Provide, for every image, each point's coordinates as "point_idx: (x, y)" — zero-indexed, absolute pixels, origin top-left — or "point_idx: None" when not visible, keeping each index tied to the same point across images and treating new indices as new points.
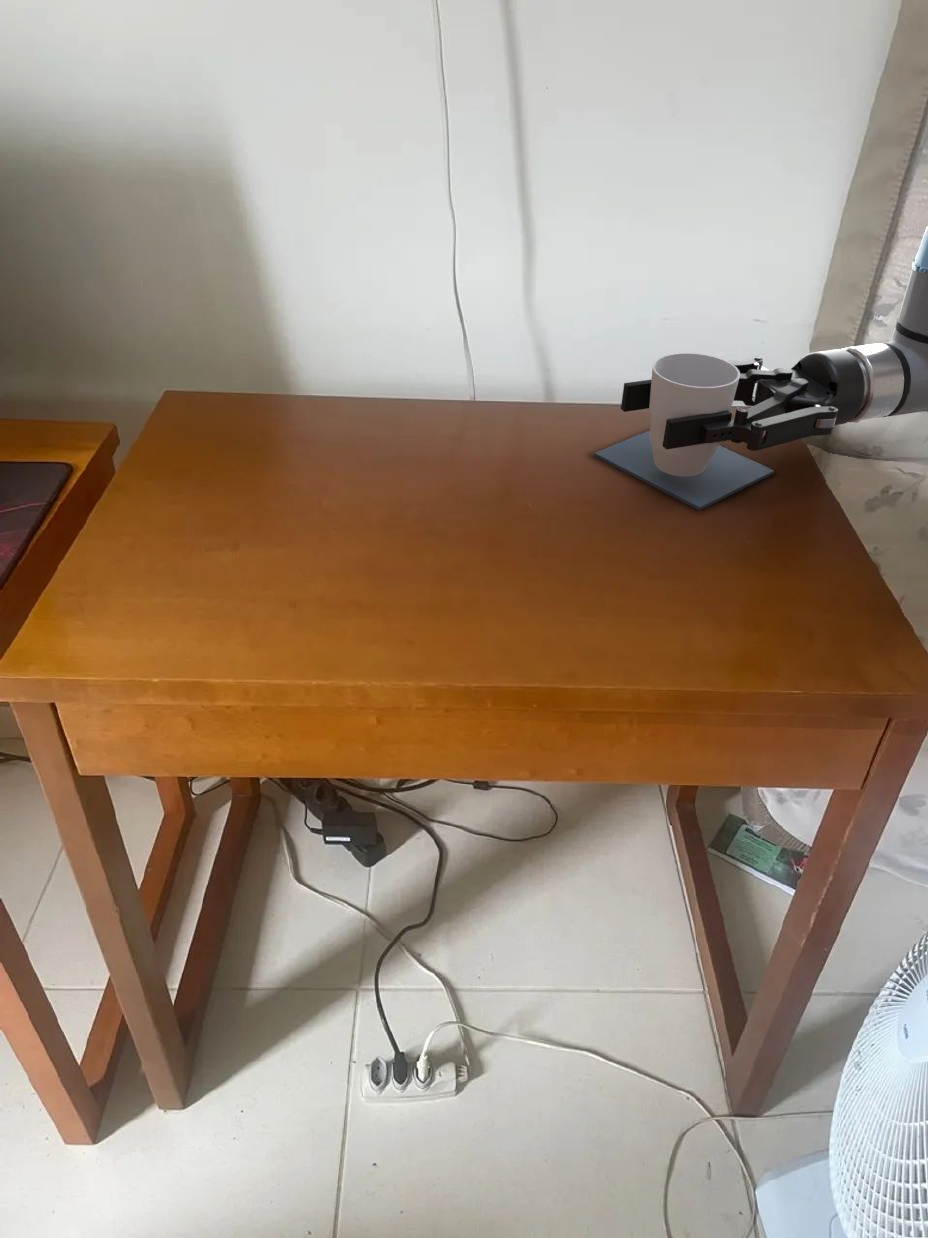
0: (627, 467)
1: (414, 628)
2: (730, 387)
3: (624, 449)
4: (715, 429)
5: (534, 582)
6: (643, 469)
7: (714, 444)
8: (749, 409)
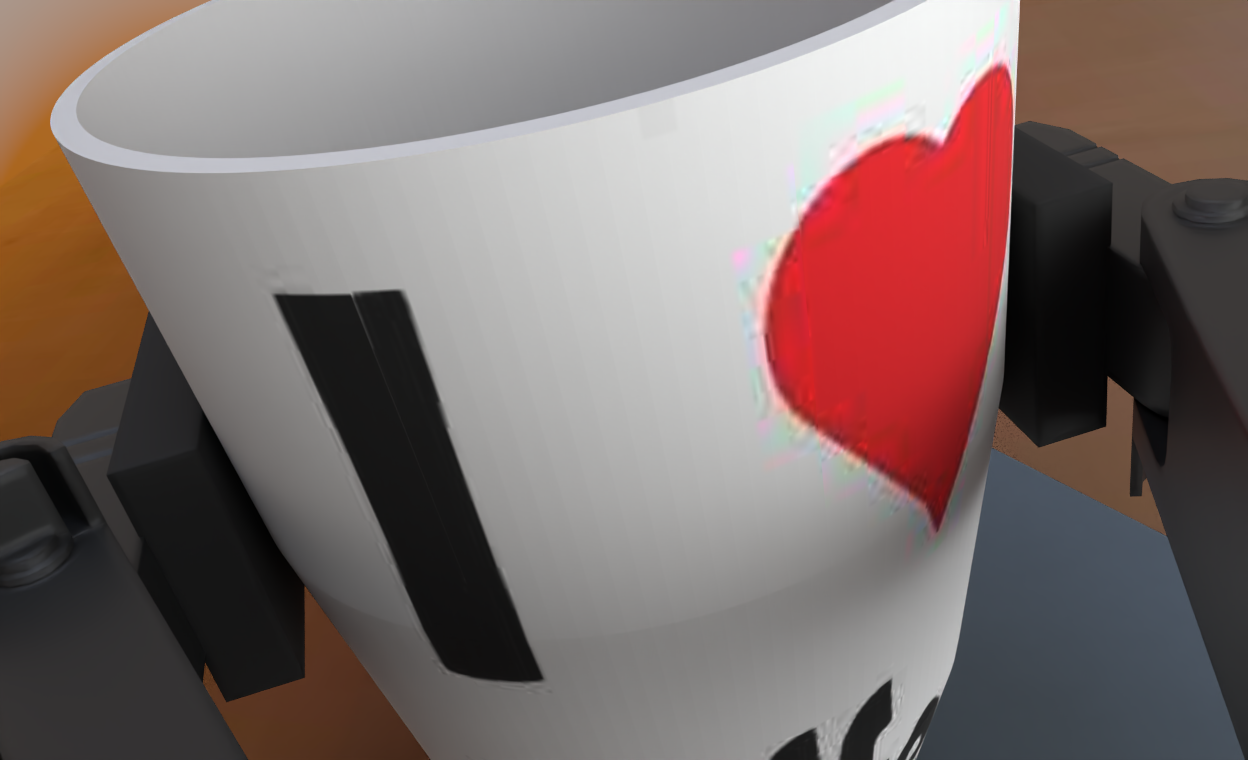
0: None
1: (51, 238)
2: (88, 190)
3: (1065, 556)
4: (53, 437)
5: (79, 368)
6: None
7: (402, 718)
8: (150, 655)
